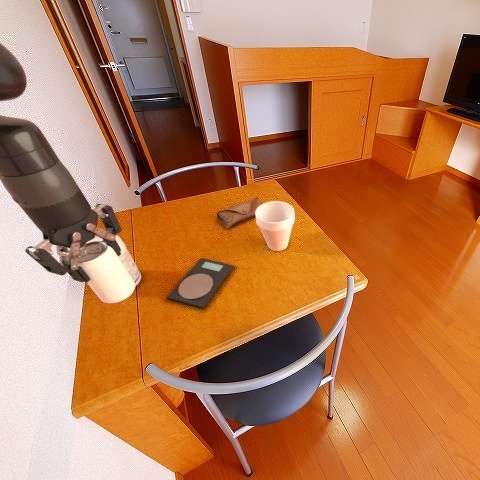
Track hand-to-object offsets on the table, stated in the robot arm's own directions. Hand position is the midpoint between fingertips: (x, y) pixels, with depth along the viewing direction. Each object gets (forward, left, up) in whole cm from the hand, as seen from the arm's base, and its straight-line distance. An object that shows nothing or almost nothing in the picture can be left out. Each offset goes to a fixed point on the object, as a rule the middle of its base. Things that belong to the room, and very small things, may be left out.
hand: (101, 266), depth 53 cm
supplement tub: (+11, +17, -23) cm, 31 cm away
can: (0, 0, -8) cm, 8 cm away
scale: (+18, -4, -23) cm, 29 cm away
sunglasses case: (+52, 0, -23) cm, 57 cm away
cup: (+40, -19, -23) cm, 50 cm away
